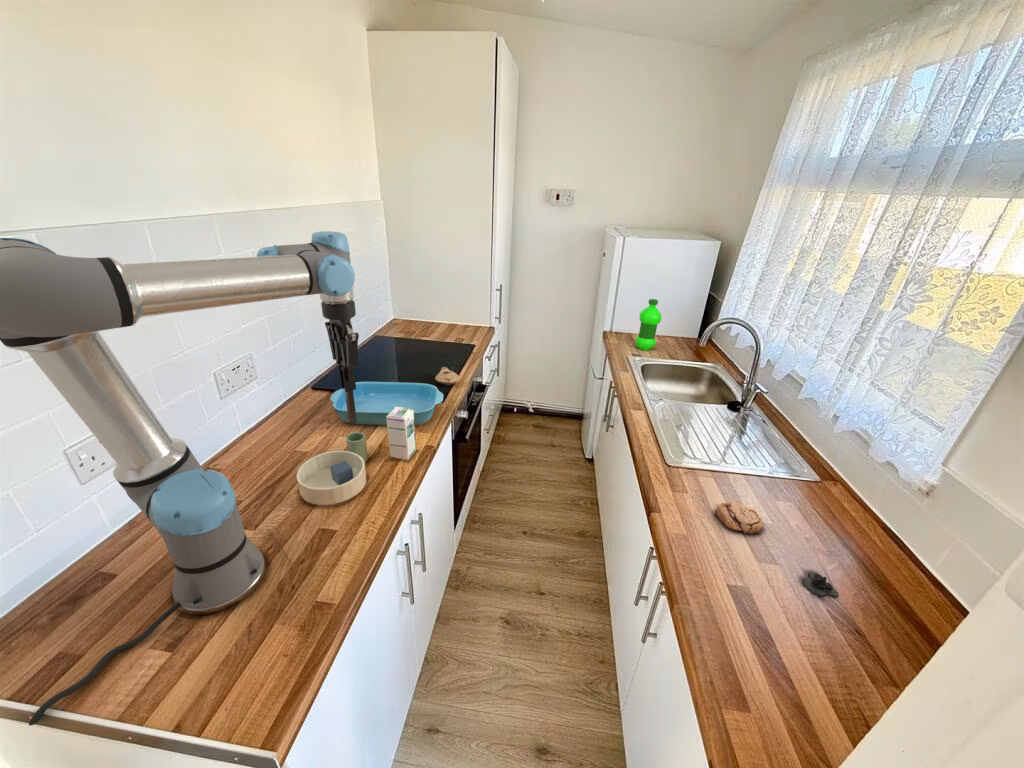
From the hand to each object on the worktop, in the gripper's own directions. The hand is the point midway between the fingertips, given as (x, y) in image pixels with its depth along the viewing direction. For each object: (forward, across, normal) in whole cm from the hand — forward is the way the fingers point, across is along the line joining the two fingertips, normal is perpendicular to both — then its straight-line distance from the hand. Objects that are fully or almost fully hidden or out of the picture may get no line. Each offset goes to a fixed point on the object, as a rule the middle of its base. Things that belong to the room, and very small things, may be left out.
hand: (348, 388), depth 113 cm
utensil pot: (+23, 0, 0) cm, 23 cm away
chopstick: (+10, 0, 0) cm, 10 cm away
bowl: (+23, -6, +10) cm, 26 cm away
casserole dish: (+23, +18, -21) cm, 36 cm away
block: (+22, -6, +7) cm, 24 cm away
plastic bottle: (+22, -7, -151) cm, 153 cm away
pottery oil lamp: (+23, +25, -52) cm, 62 cm away
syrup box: (+23, -6, -11) cm, 27 cm away
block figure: (+23, -104, -50) cm, 118 cm away
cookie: (+23, -85, -58) cm, 106 cm away
